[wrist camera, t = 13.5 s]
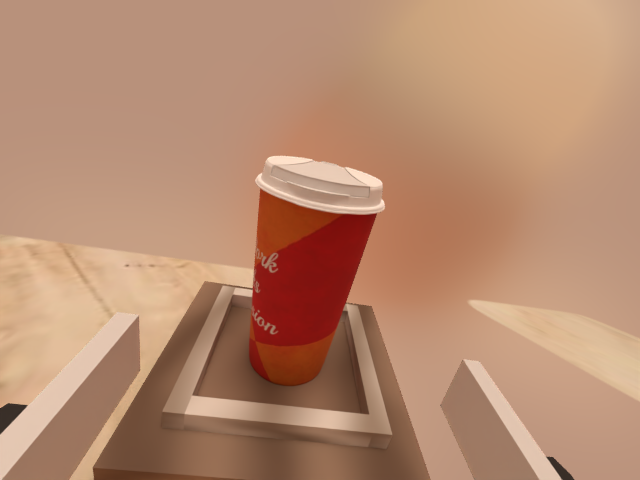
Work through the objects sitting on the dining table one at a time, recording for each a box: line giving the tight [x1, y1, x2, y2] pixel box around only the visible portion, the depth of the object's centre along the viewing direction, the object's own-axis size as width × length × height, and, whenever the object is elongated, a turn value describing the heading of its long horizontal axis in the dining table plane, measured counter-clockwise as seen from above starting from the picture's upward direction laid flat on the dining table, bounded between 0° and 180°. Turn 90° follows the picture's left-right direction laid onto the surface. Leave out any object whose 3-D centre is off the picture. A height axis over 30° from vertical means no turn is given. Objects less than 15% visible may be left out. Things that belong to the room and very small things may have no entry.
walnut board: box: [93, 281, 430, 480], centre depth 24 cm, size 18×18×2 cm
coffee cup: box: [249, 156, 385, 386], centre depth 22 cm, size 8×8×15 cm
